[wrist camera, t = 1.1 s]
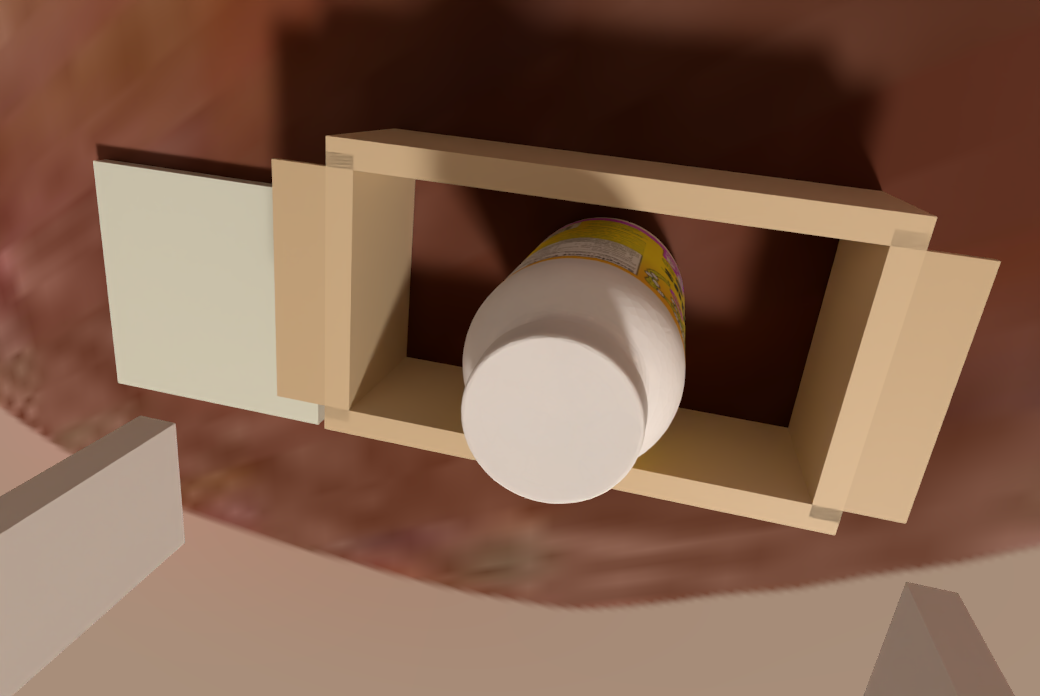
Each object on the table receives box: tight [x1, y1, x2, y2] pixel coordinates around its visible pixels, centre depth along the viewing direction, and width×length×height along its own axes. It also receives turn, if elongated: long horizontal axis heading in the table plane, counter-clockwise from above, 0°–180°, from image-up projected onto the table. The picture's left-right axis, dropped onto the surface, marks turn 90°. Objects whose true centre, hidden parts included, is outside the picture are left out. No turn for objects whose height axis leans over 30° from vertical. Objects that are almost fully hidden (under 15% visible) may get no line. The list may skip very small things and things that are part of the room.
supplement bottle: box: [461, 217, 685, 504], centre depth 23 cm, size 7×7×13 cm
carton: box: [272, 128, 1001, 535], centre depth 26 cm, size 11×23×6 cm, turn 84°
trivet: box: [93, 159, 325, 424], centre depth 33 cm, size 11×11×1 cm
